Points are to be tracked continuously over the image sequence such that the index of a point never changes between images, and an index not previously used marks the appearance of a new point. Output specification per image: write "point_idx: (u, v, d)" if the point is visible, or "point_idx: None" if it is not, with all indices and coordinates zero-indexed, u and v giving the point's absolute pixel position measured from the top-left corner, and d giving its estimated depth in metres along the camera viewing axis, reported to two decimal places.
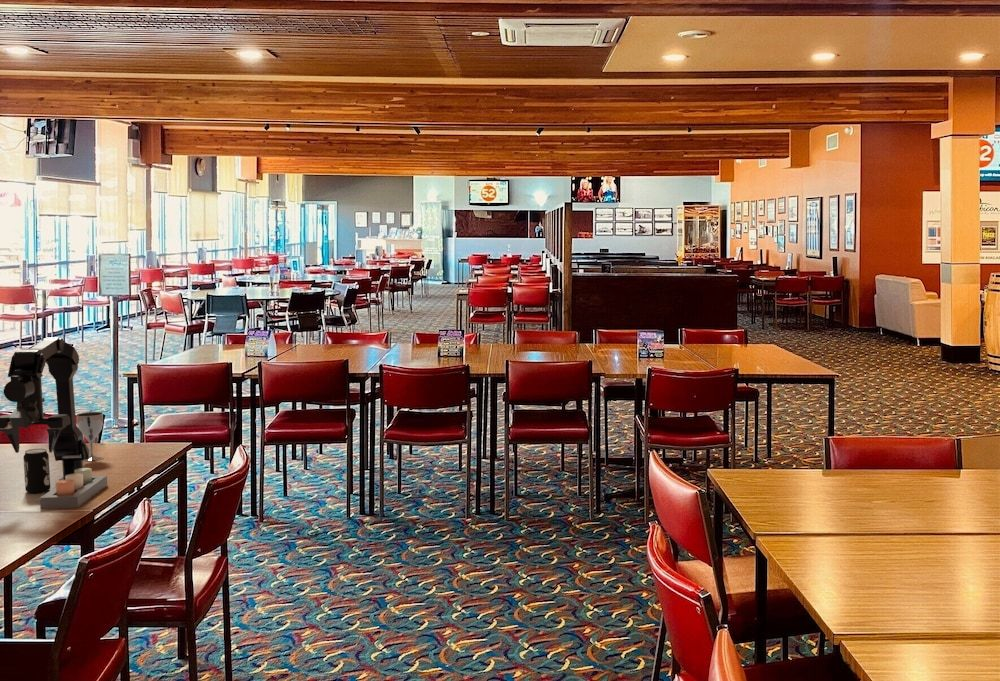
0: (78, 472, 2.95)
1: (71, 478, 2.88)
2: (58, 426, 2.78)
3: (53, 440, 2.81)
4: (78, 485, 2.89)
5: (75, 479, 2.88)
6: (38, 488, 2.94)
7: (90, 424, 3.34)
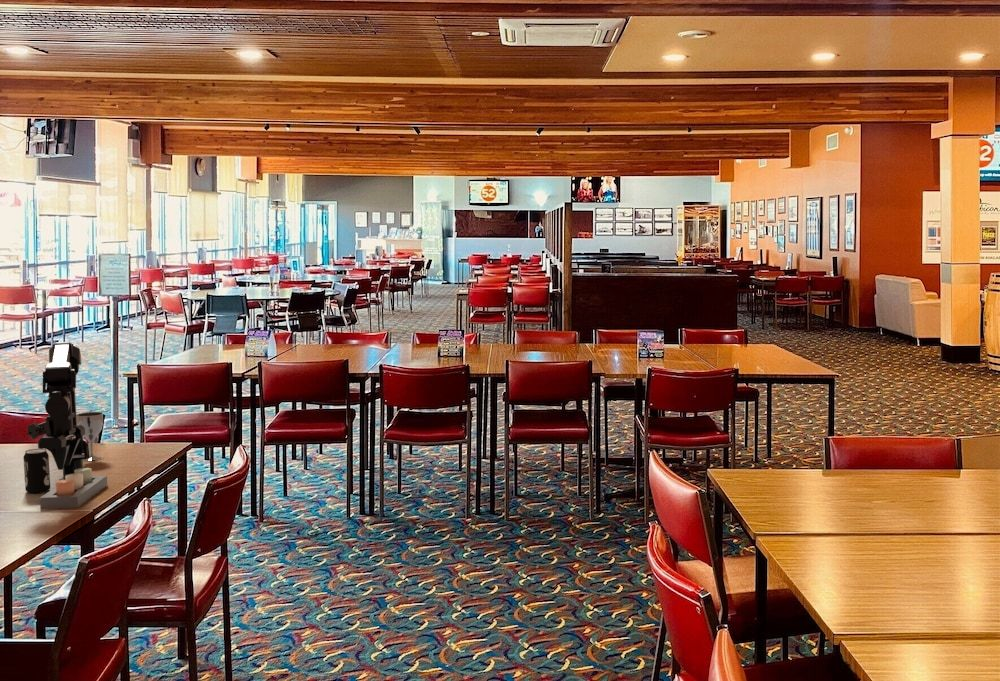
0: (78, 472, 2.95)
1: (71, 478, 2.88)
2: None
3: (56, 458, 2.79)
4: (78, 485, 2.89)
5: (75, 479, 2.88)
6: (38, 488, 2.94)
7: (90, 424, 3.34)
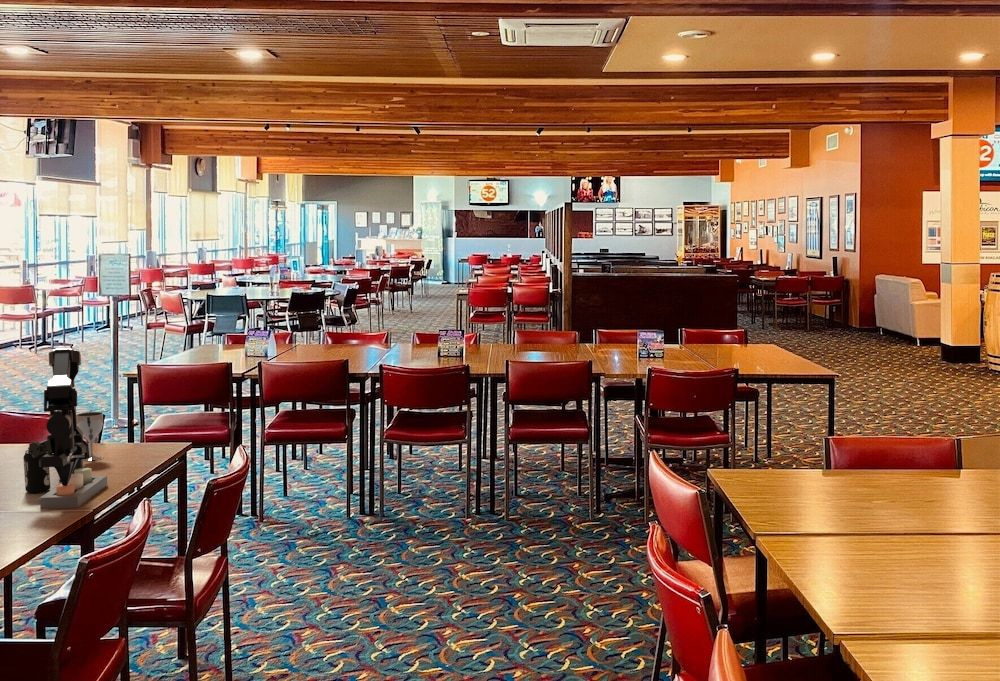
0: (78, 472, 2.95)
1: (71, 478, 2.88)
2: None
3: (60, 474, 2.82)
4: (78, 485, 2.89)
5: (75, 479, 2.88)
6: (38, 488, 2.94)
7: (90, 424, 3.34)
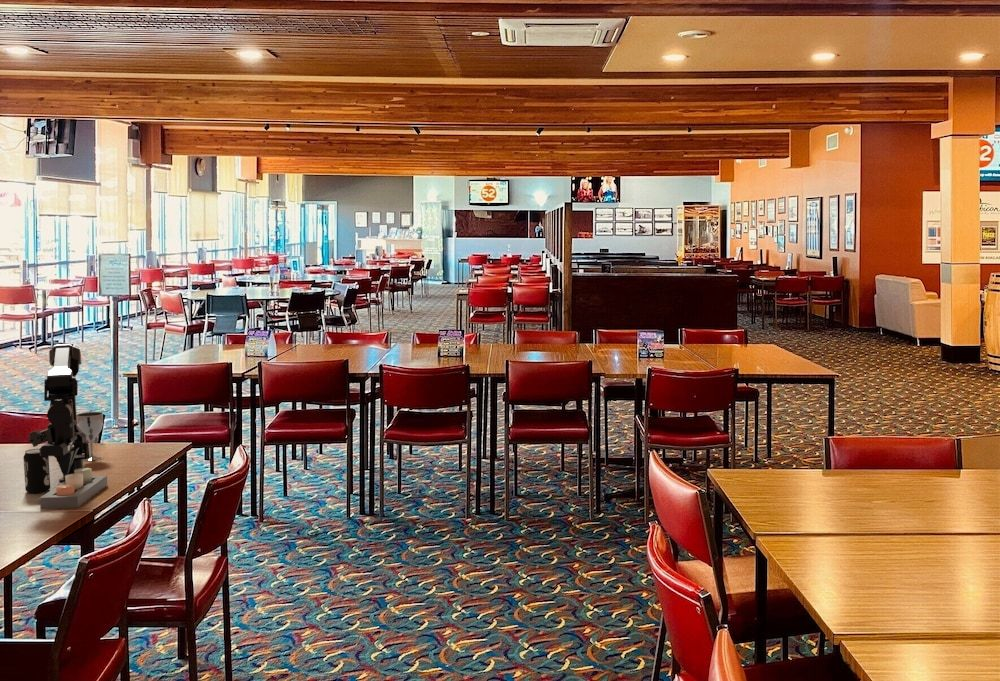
0: (78, 472, 2.95)
1: (71, 478, 2.88)
2: None
3: (60, 463, 2.82)
4: (78, 485, 2.89)
5: (75, 479, 2.88)
6: (38, 488, 2.94)
7: (90, 424, 3.34)
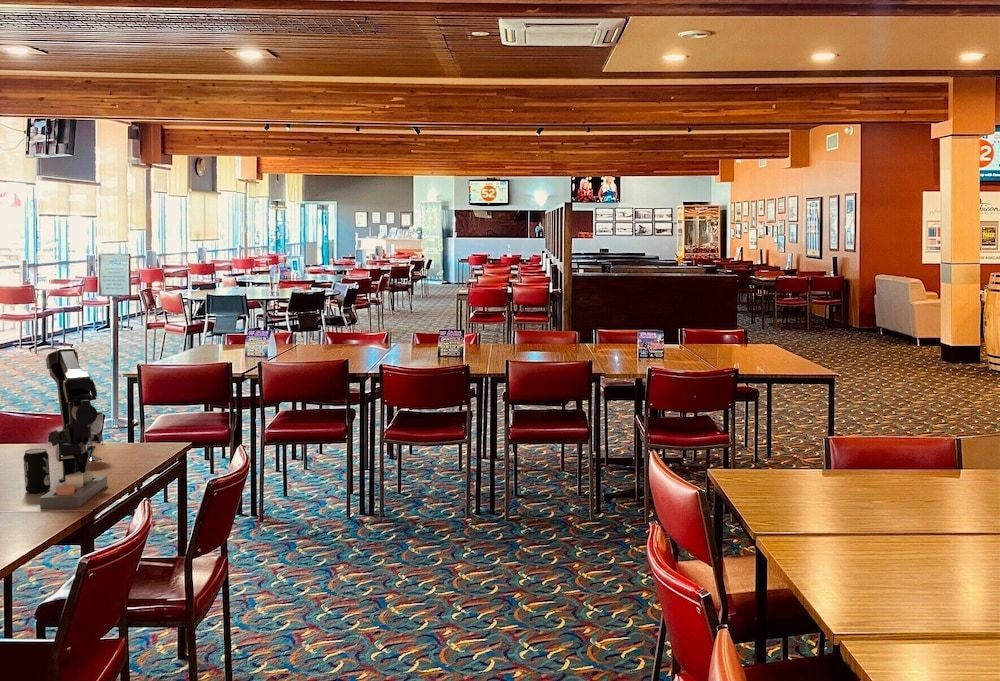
0: None
1: (71, 478, 2.88)
2: None
3: (78, 462, 2.96)
4: (78, 485, 2.89)
5: (75, 479, 2.88)
6: (38, 488, 2.94)
7: None
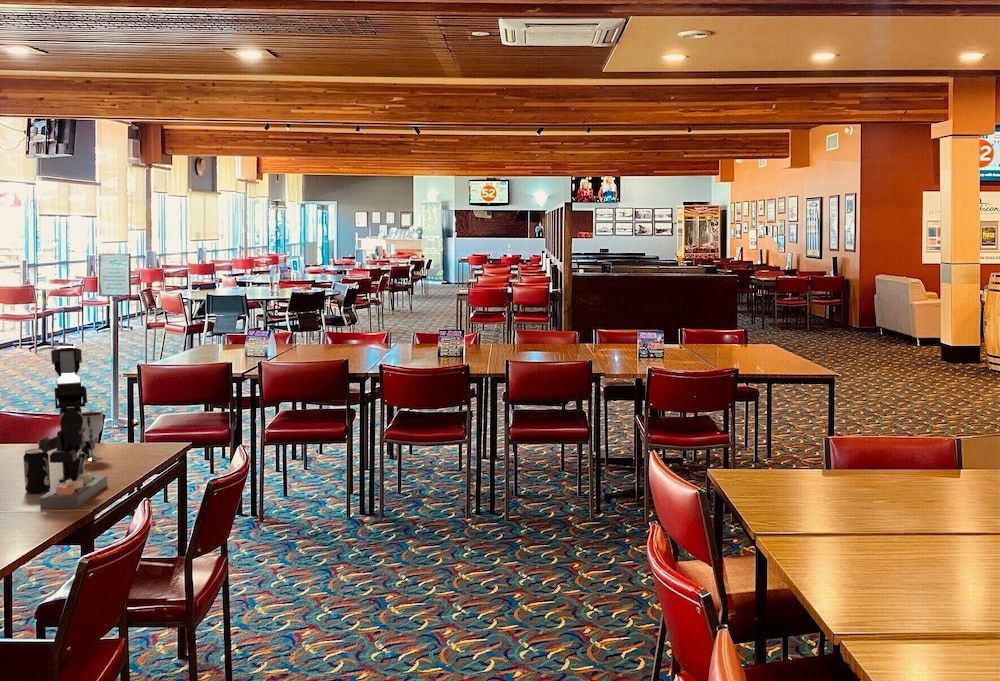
0: (78, 477, 2.95)
1: (71, 483, 2.88)
2: None
3: (70, 469, 2.89)
4: None
5: (75, 484, 2.89)
6: (38, 488, 2.94)
7: (90, 424, 3.34)
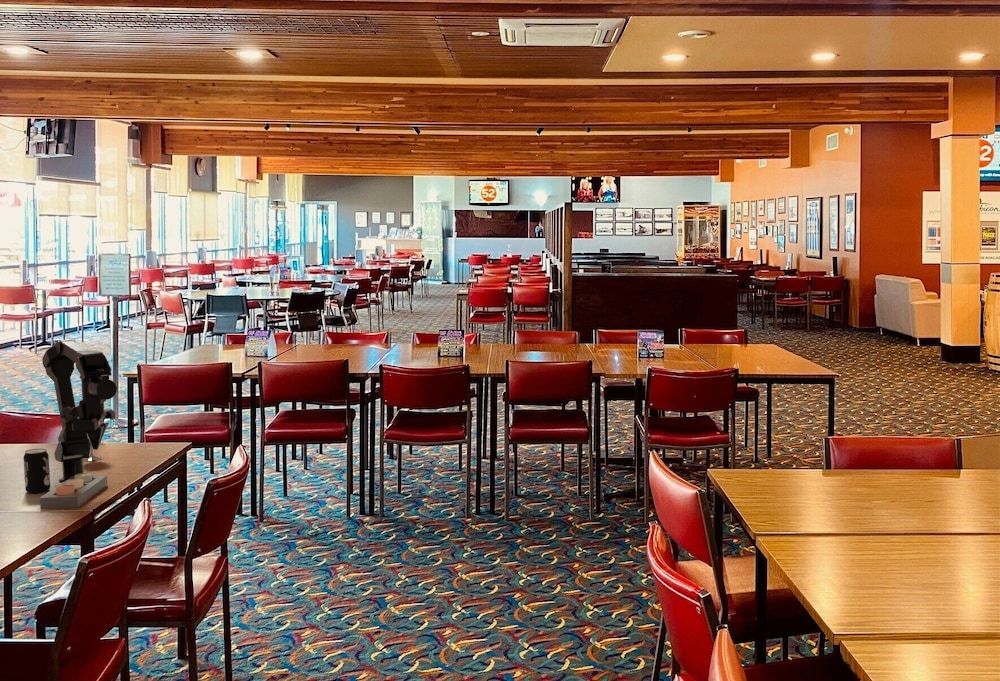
0: (78, 477, 2.95)
1: (71, 483, 2.88)
2: None
3: (91, 438, 2.95)
4: None
5: (75, 484, 2.89)
6: (38, 488, 2.94)
7: None
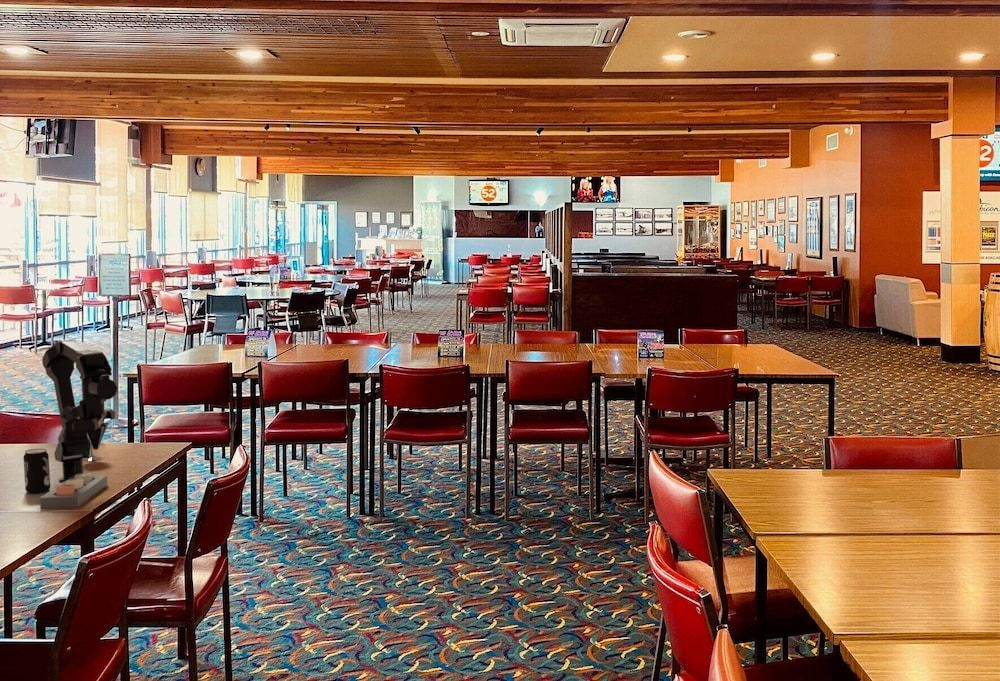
0: (78, 477, 2.95)
1: (71, 483, 2.88)
2: None
3: (91, 438, 2.95)
4: None
5: (75, 484, 2.89)
6: (38, 488, 2.94)
7: None
